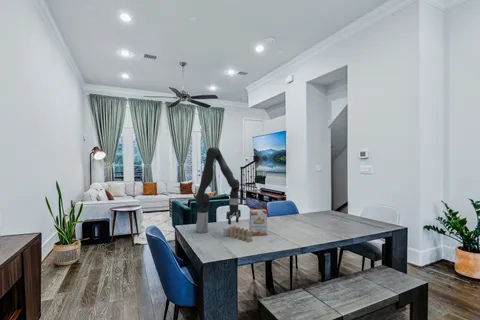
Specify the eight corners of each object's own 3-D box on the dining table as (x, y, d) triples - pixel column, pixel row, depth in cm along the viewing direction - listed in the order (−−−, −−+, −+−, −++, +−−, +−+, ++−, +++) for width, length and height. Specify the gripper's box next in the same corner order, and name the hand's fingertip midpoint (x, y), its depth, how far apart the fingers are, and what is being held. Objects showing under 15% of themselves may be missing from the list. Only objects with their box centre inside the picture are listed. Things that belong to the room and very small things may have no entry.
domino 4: (242, 240, 194) (242, 230, 194) (246, 239, 198) (246, 229, 198) (243, 241, 193) (243, 230, 193) (248, 239, 197) (248, 229, 197)
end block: (223, 235, 206) (223, 228, 206) (232, 233, 213) (232, 226, 213) (225, 236, 204) (225, 229, 204) (234, 234, 211) (234, 227, 211)
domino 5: (246, 241, 191) (246, 231, 191) (250, 240, 195) (250, 230, 195) (247, 242, 190) (248, 231, 190) (252, 241, 193) (252, 230, 194)
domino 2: (234, 238, 201) (234, 228, 201) (238, 236, 204) (238, 227, 204) (235, 238, 199) (235, 228, 200) (240, 237, 203) (240, 227, 203)
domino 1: (230, 236, 204) (230, 227, 204) (234, 235, 207) (234, 226, 207) (231, 237, 202) (231, 227, 203) (236, 236, 206) (236, 226, 206)
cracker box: (250, 236, 206) (251, 210, 207) (249, 234, 212) (249, 209, 213) (267, 235, 209) (267, 210, 209) (264, 233, 215) (265, 209, 215)
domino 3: (238, 239, 197) (238, 229, 197) (242, 238, 201) (242, 228, 201) (239, 239, 196) (239, 229, 196) (244, 238, 200) (244, 228, 200)
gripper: (230, 205, 198) (230, 225, 198) (243, 203, 208) (242, 222, 208) (224, 203, 203) (223, 223, 203) (236, 202, 213) (236, 221, 213)
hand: (233, 223), depth 206 cm, fingers open, 8 cm apart
